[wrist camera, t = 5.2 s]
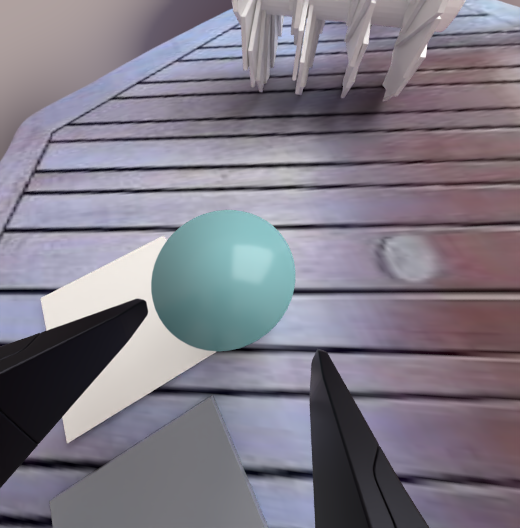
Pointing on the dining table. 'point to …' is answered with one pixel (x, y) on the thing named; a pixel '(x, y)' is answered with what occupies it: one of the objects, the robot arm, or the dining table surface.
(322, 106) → the dining table surface
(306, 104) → the dining table surface
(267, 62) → the spiral staircase
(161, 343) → the pale tile
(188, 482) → the slate tile
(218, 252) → the teal cylinder
